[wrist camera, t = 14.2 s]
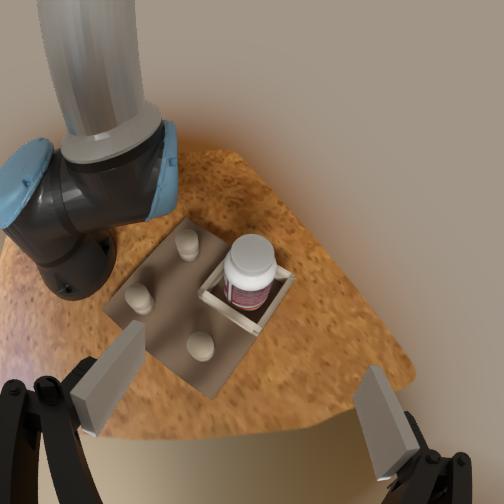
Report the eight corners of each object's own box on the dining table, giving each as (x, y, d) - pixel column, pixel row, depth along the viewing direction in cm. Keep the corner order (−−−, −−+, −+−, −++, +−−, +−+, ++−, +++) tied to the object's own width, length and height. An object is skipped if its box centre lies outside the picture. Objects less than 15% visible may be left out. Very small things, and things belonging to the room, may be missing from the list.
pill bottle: (276, 292, 39) (293, 254, 30) (245, 321, 37) (253, 290, 27) (245, 263, 41) (252, 218, 32) (214, 289, 38) (211, 250, 29)
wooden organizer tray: (109, 315, 38) (90, 299, 32) (187, 227, 47) (183, 201, 41) (212, 399, 33) (210, 400, 27) (288, 291, 43) (298, 271, 37)
